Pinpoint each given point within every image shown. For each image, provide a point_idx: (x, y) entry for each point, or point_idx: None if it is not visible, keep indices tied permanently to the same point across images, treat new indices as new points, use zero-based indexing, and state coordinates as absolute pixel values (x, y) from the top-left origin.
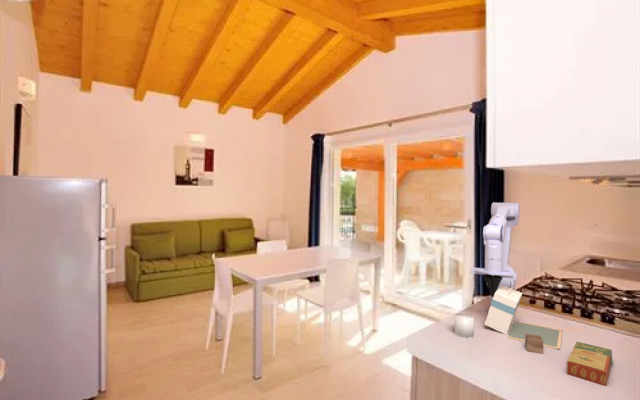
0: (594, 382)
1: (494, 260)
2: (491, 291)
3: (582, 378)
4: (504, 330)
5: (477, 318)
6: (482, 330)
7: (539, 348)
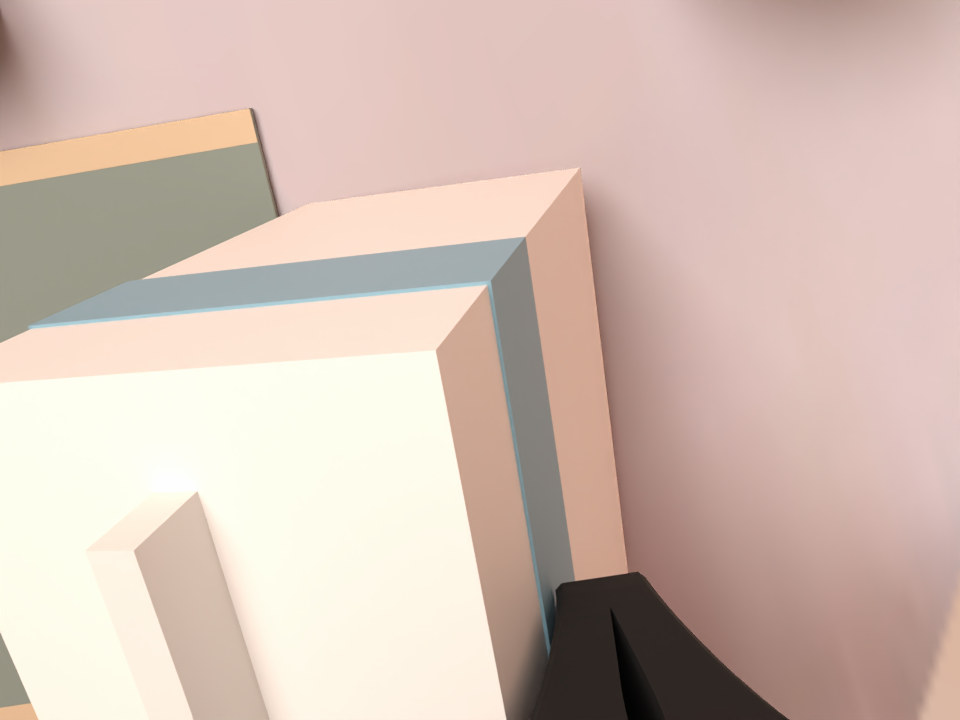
0: None
1: None
2: (646, 636)
3: None
4: (322, 207)
5: (757, 457)
6: (579, 109)
7: None
